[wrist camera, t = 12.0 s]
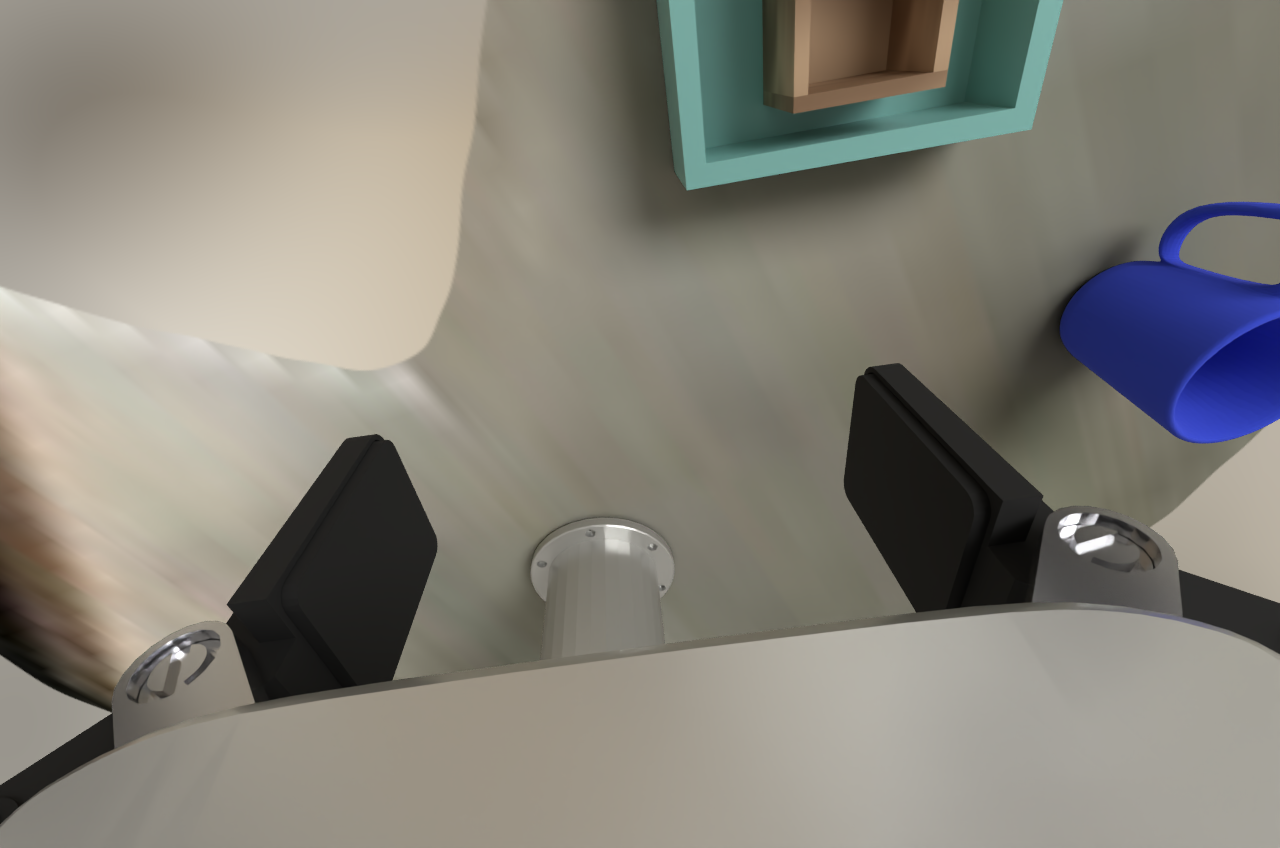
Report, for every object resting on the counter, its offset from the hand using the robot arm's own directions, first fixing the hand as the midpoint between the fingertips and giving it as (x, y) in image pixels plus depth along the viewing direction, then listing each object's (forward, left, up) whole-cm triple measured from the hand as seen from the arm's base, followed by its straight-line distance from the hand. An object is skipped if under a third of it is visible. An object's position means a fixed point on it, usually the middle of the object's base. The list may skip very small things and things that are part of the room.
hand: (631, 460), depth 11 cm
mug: (-10, -32, -23) cm, 41 cm away
